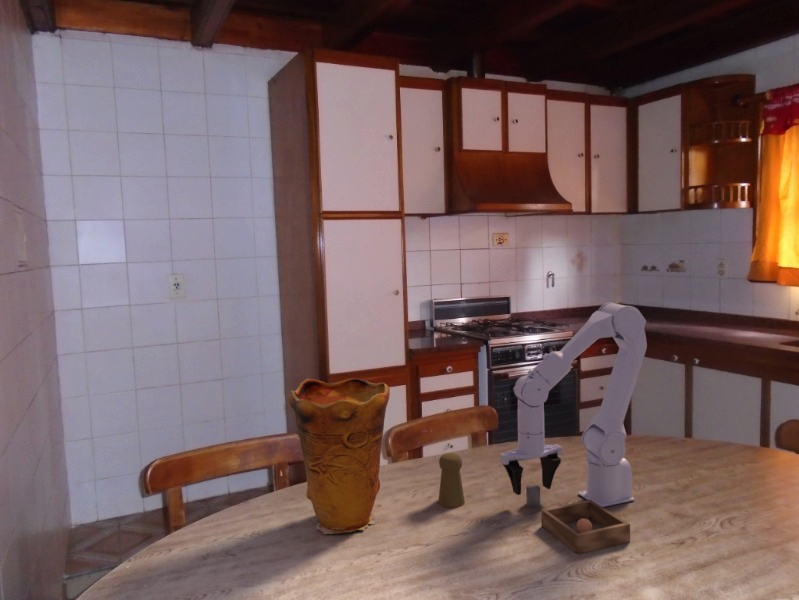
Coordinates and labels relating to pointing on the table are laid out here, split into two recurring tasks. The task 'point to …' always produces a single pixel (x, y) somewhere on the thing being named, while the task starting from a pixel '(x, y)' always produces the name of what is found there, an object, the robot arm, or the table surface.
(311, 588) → the table surface
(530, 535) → the table surface
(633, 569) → the table surface
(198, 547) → the table surface
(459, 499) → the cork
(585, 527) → the terracotta ball
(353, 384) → the vase
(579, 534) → the walnut crate
